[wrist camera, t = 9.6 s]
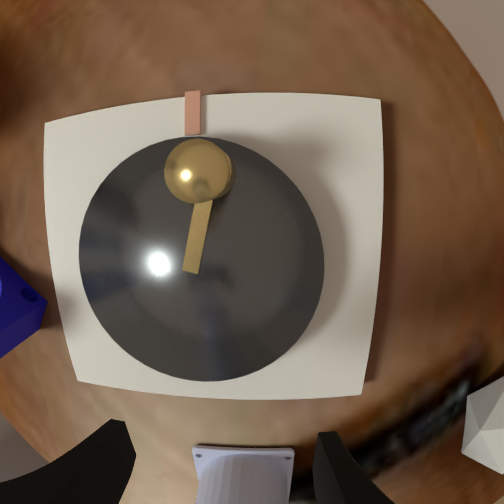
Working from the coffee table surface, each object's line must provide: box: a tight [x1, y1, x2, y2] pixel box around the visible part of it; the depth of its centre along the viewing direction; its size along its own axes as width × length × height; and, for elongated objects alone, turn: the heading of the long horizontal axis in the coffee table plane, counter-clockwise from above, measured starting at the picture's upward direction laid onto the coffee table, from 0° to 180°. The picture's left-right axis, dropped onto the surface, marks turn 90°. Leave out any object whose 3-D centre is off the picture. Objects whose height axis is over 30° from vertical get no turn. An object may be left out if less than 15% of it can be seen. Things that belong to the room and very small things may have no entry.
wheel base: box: [44, 91, 383, 400], centre depth 17 cm, size 18×20×2 cm
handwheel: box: [79, 136, 325, 382], centre depth 14 cm, size 13×13×4 cm
